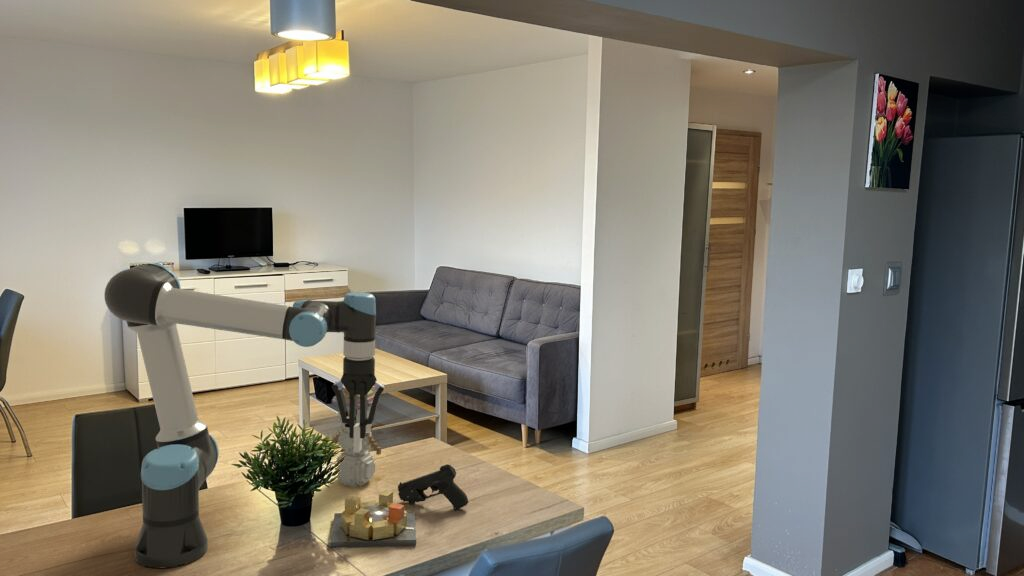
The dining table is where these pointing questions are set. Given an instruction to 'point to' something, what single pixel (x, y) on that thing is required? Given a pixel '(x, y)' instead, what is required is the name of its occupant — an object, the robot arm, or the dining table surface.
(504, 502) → the dining table surface
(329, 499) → the dining table surface
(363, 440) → the toy
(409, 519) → the base plate
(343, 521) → the ring nut
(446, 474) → the handgun
